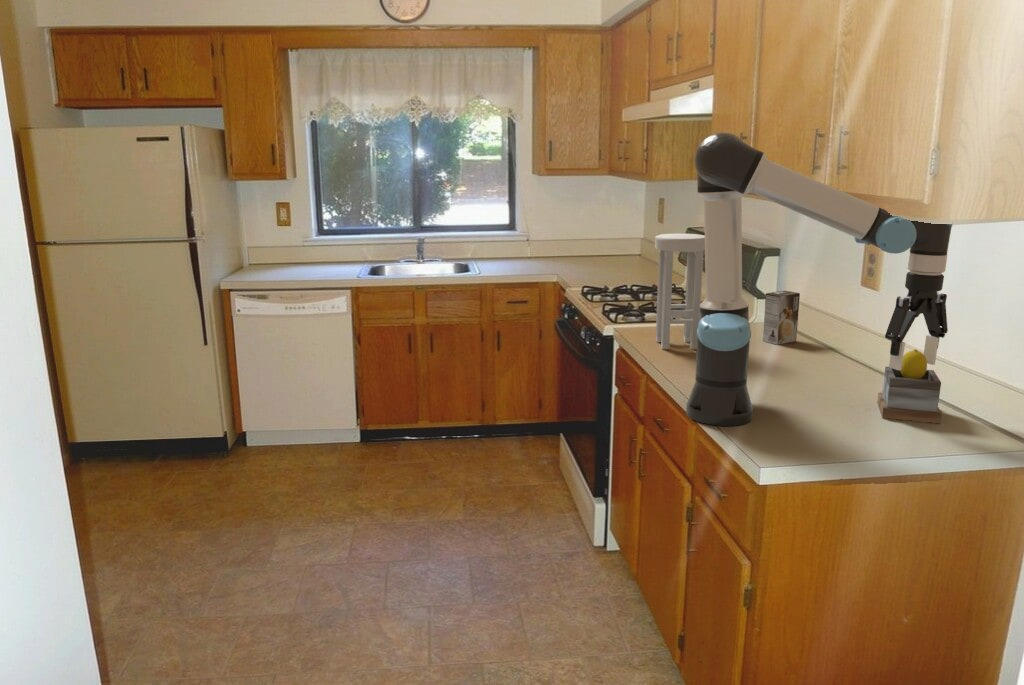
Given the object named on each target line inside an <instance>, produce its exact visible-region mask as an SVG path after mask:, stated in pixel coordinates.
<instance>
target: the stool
mask: <svg viewBox="0 0 1024 685" xmlns="http://www.w3.org/2000/svg"><path fill="white" fill-rule="evenodd" d="M654 249H656V250H657V251H658V272H657V295H656V296H657V297H656V300H657V301H656V320H655V321H656V324H655V329H656V330H655V342H656V341H657V342H661V343H660V348H662V349H669V350H670V341H671V340H670V338H671V337H670V336H671V325H673V324H674V325H680V324H681V325H682V324H683V342H684V343H689V349H690V350H697V339H698V336H697V329H698V325H699V322H700V304H701V303H702V284H703V270H704V269H703V268H704V267H703V265H704V263H703V262H704V252H705V234H704V235H703V234H698V233H661V234H658V235H656V236H655V238H654ZM675 252H677V253H687V258H686V261H687V262H686V276H685V277H686V278H685V279H686V281H685V283H686V284H685V298H684V299H685V301H684V302H685V304H684V303H680V304H679V303H678V304H677V303H674V304H673V303H672V295H673V294H672V293H673V292H672V291H673V267H674V253H675ZM673 318H677V319H673ZM678 318H679V319H678ZM680 318H681V319H680ZM683 318H684V319H683ZM657 342H656V343H657ZM662 349H661V350H662Z"/></svg>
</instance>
